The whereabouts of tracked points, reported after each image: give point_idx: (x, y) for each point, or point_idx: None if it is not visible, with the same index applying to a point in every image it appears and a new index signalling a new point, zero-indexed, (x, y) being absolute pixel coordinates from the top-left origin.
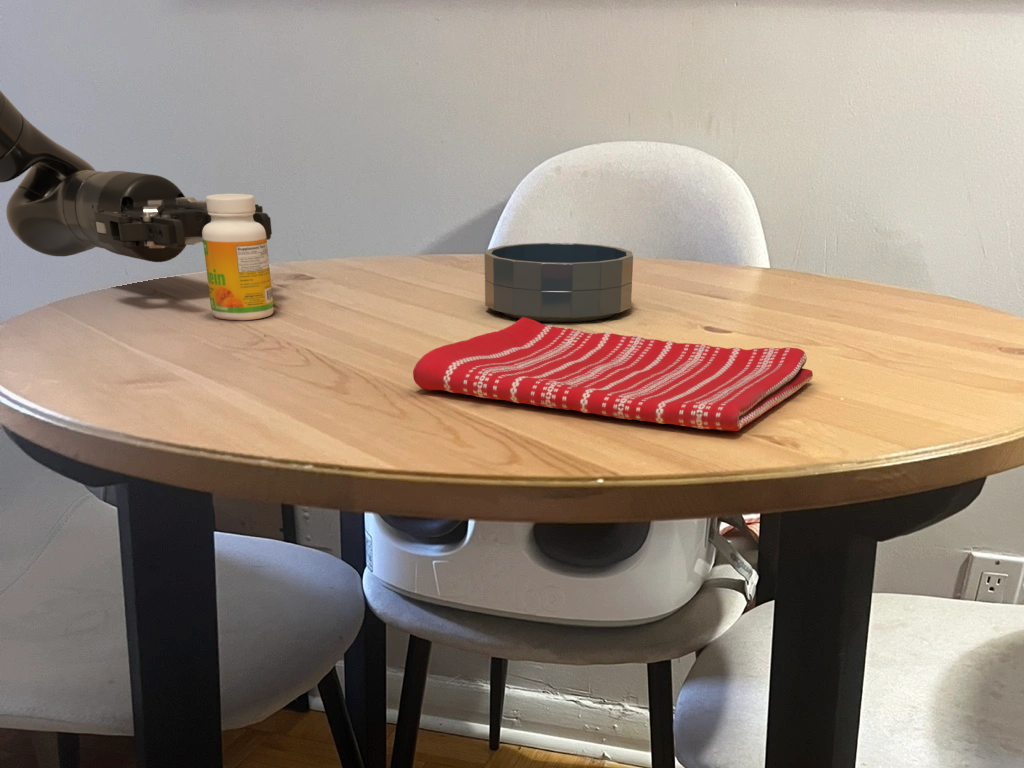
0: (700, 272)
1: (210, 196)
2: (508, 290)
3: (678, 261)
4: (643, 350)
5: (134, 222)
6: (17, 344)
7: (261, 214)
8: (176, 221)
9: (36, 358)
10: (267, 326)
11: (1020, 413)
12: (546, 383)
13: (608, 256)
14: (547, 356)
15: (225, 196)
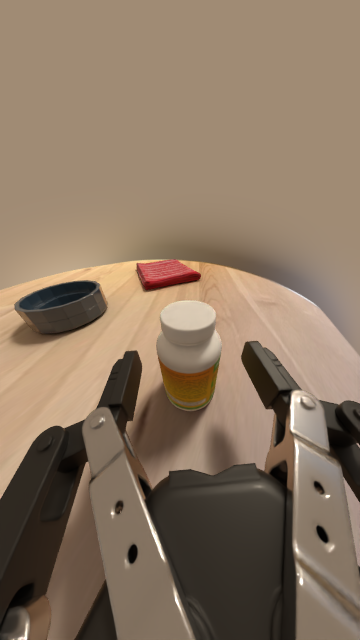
0: None
1: (209, 316)
2: (102, 301)
3: None
4: (147, 272)
5: (331, 413)
6: None
7: (134, 351)
8: (253, 341)
9: (335, 344)
10: None
11: (135, 261)
12: (186, 266)
13: (34, 297)
14: (164, 276)
15: (194, 311)
